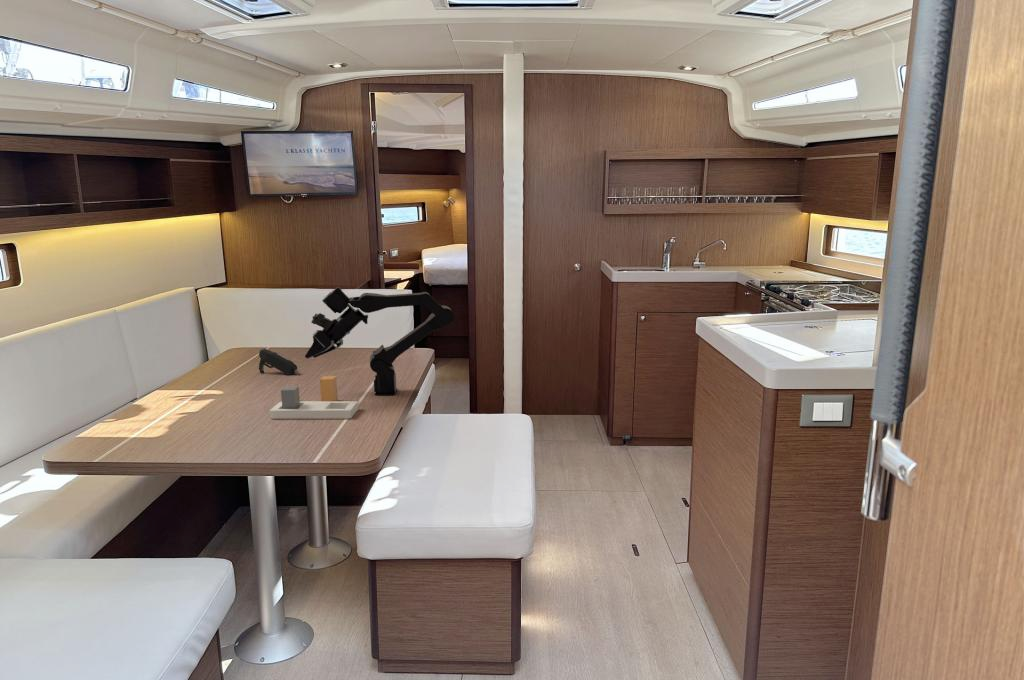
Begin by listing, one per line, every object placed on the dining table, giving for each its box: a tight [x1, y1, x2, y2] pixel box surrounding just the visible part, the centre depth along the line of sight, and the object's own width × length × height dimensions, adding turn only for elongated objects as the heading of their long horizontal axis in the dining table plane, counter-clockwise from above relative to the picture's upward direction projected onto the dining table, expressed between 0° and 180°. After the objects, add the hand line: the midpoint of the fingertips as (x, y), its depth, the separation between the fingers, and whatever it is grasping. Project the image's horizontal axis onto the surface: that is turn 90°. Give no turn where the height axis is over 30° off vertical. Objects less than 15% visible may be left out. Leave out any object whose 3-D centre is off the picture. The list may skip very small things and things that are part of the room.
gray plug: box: [280, 385, 301, 409], centre depth 206 cm, size 4×4×8 cm
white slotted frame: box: [268, 400, 359, 420], centre depth 207 cm, size 24×9×2 cm, turn 88°
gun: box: [258, 348, 300, 376], centre depth 253 cm, size 3×16×10 cm, turn 78°
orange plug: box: [319, 375, 339, 401], centre depth 218 cm, size 4×4×8 cm
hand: (309, 357), depth 220 cm, fingers open, 9 cm apart
